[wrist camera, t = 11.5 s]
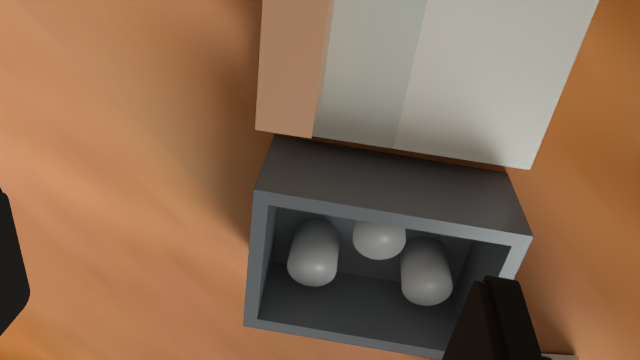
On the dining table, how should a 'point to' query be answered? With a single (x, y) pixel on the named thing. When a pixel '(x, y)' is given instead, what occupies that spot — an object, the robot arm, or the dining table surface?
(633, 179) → the dining table surface
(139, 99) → the dining table surface
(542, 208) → the dining table surface
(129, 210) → the dining table surface
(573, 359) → the milk carton
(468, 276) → the tub
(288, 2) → the lid
